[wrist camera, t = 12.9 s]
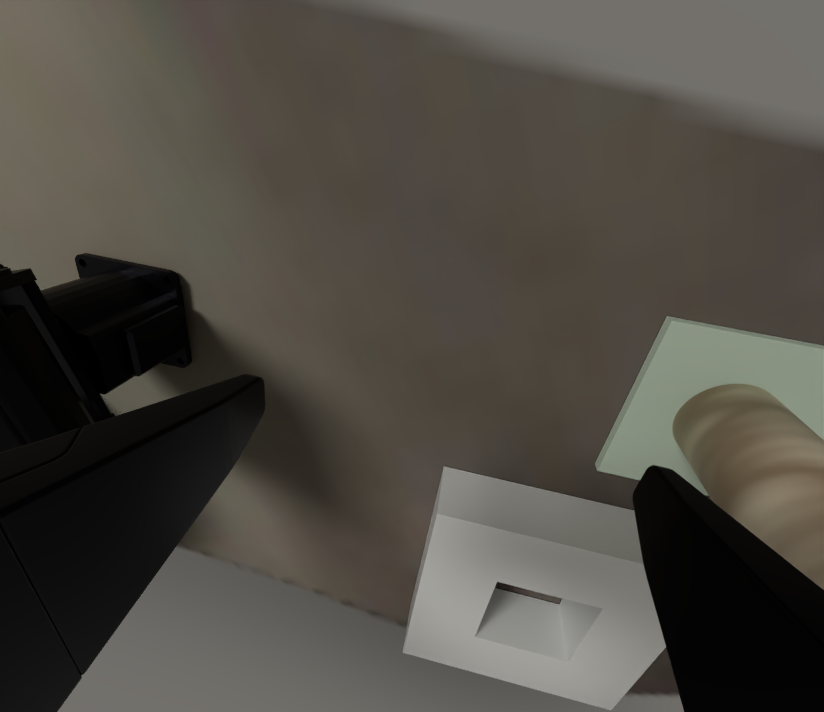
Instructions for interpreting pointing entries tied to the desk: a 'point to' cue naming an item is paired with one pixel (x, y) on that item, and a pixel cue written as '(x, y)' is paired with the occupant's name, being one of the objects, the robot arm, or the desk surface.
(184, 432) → the robot arm
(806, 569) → the wooden peg
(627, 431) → the green pad
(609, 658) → the pocket block
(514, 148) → the desk surface
